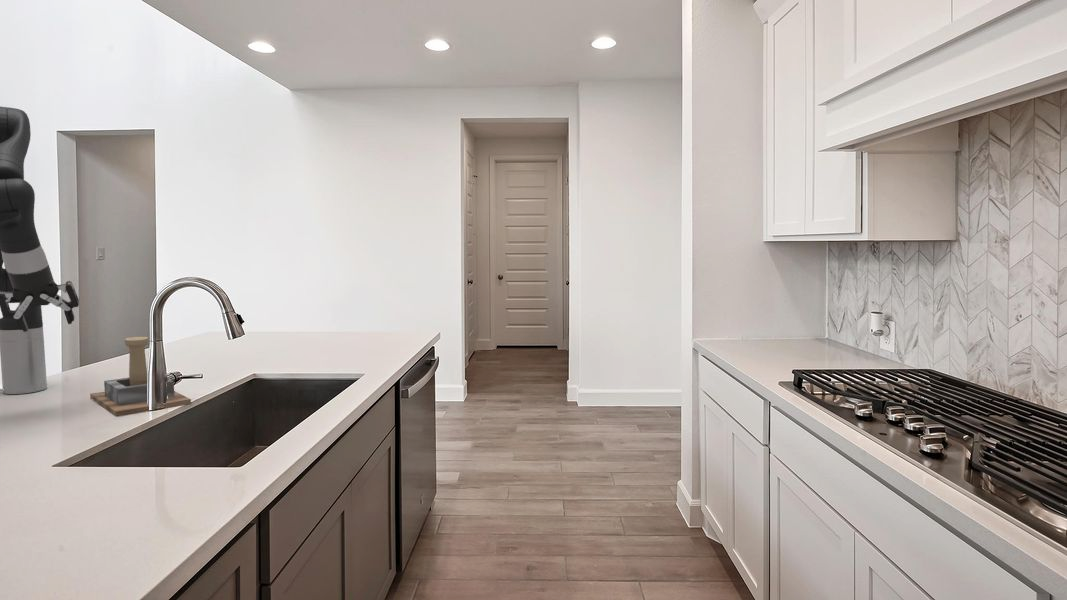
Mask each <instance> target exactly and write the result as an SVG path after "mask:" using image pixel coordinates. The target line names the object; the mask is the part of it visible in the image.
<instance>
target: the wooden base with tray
mask: <svg viewBox="0 0 1067 600" xmlns="http://www.w3.org/2000/svg"><path fill="white" fill-rule="evenodd" d="M129 378H130V377H129V376H128V377H122V378H116V379H109V380H104V381H103V383H104V384H103V385H104V391H101V392H94V393H90V394H89V395H90V398H89V399H91V400H92V399H93V400H94V401H93V400H92V401H93V402H95V401H96V402H97V404H98V405H99V406H101V407H102V408H104V410H106V411H107V412H108V413H110V414H112V415H113V416H115V417H116V418H117V417H123V416H128V415H134V414H139V413H146V412H150V411H149V406H148V404H147V384H141V385H134V386H130V380H129ZM168 379H169V380H168V382H167V396H168V399H167V402H166V403H163V404H158V405H159V406H162V405H163V406H164V407H163V409H167V408H174V407H180V406H185V405H191V404H192V399H191V398H189V397H188V396H185V395H184V394H182V393H180V392H178V391H175V382H174V381H173V380H172V379H170V378H168ZM96 402H95V403H96ZM158 405H157V406H158ZM160 408H161V407H160Z"/></svg>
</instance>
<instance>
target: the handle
mask: <svg viewBox="0 0 1067 600" xmlns="http://www.w3.org/2000/svg"><path fill="white" fill-rule="evenodd" d="M124 344H125V346H126V347H128V348H129V362H128V364H129V366H128V367H129V368H128V378H129V377H130V378H129V380H130V386H134V385H141V384H147V375H148V369H147V368H148V367H147V360H146V359H147V358H146V346H147V345H149V337H148V336H133V337H132V336H131V337H126V338H125V339H124Z"/></svg>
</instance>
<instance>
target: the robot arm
mask: <svg viewBox="0 0 1067 600" xmlns="http://www.w3.org/2000/svg"><path fill="white" fill-rule="evenodd" d="M30 141H31V124H30V117H28V114H27V113H26V112H25V111H24V110H22V109H19V108H15V107H8V106H7V107H6V106H0V311H1V315H2V317H0V369H1V372H0V373H1V384H2V386H1V387H2V393H3V394H5V395H21V394H29V393H36V392H40V391H44V390H46V389H47V388H48V383H47V381H48V380H47V368H46V366H47V365H46V364H47V363H46V353H45V339H44V338H45V337H44V322H43V312H42V311H43V310H42V306H48V305H50V304H51V305H53V306H55V307H59V308H60V309H62V310H63V313H64V316H65V319H66V322H67V324H68V325H72V323H73V322H74V321H75V315H74V311H73V308H78V307H79V306H80V305H79V304H80V300H79V297H78V295H77V292H76V290H75V287H74V284H73V282H72V281H70V280H68V281H66V282H65V283H62V284H57V283H56V282H55V280H54V276H53V272H52V270H51V268H50V265H49V261H48V259H47V255H46V253H45V251H44V249H43V246H42V245H41V241H40V239H39V236H38V232H37V228H36V224H35V203H36V201H35V200H36V198H35V197H36V196H35V195H36V194H35V190H34V187H33V186H32V185H31V184H30V183H29V182H28V181H27V180H25V170H24V169H25V167H24V166H25V165H24V164H25V160H26V156H27V153H28V149H29V146H30ZM3 264H4V265H3ZM3 266H4V267H3ZM59 291H62V292H63V293H64V294H67V296H68V297H69V301H68V300H66V299H64V298H63V297H62V296H61V295H59V294H58V293H59ZM10 304H18V305H17V306H16V308H15V310H11V308H10ZM3 389H4V390H3Z"/></svg>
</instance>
